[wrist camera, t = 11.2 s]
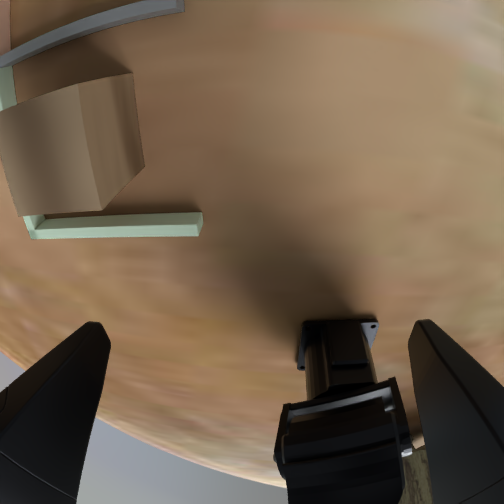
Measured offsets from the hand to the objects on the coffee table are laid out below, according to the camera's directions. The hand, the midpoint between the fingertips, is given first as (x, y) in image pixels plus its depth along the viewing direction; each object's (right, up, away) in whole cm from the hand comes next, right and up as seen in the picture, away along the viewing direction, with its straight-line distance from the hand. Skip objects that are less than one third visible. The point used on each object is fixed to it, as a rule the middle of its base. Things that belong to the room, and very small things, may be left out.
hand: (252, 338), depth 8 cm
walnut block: (-10, +10, +9) cm, 16 cm away
